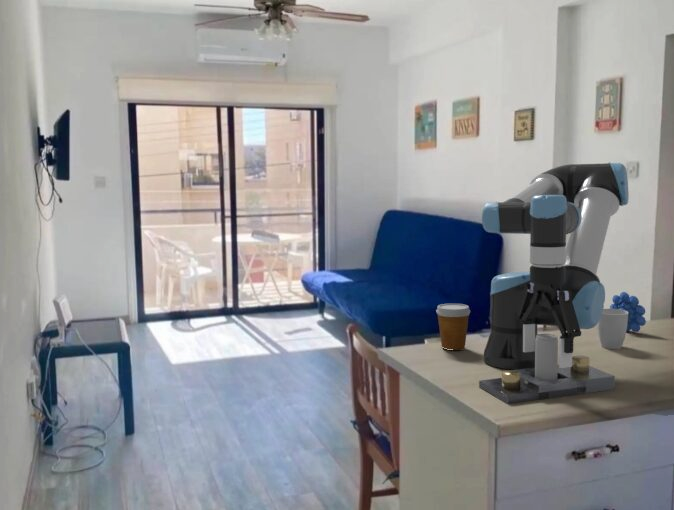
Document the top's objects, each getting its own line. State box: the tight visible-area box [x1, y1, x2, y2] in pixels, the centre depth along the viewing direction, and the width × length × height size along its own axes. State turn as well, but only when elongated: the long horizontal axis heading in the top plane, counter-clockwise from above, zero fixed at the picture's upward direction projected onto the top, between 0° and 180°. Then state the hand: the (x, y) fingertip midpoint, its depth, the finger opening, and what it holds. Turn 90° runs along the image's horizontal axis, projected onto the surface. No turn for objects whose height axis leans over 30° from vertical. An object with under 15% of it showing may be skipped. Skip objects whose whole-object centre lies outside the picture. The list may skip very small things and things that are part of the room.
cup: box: [596, 308, 628, 350], centre depth 179 cm, size 8×8×10 cm
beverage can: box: [535, 333, 559, 381], centre depth 145 cm, size 5×5×12 cm
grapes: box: [609, 291, 647, 333], centre depth 196 cm, size 12×7×12 cm, turn 33°
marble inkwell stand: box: [478, 355, 616, 405], centre depth 145 cm, size 12×27×6 cm, turn 107°
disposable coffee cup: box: [435, 303, 471, 351], centre depth 181 cm, size 10×10×12 cm
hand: (546, 359), depth 145 cm, fingers open, 13 cm apart
